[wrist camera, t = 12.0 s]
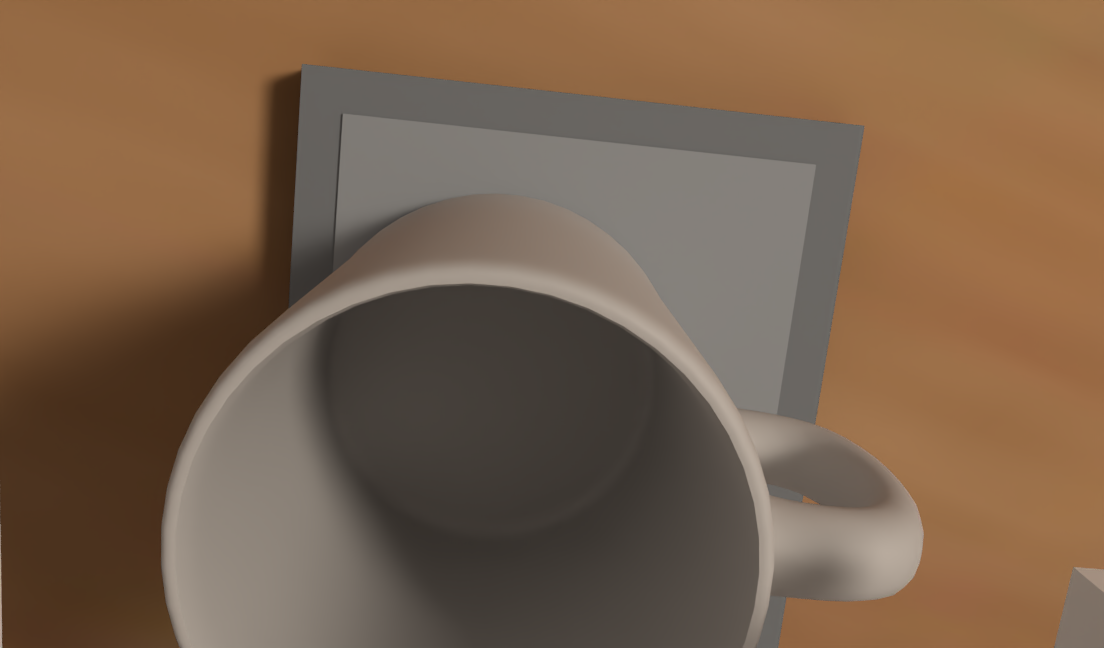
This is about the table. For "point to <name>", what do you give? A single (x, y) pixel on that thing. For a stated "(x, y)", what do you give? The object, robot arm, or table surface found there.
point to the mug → (505, 463)
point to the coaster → (607, 206)
